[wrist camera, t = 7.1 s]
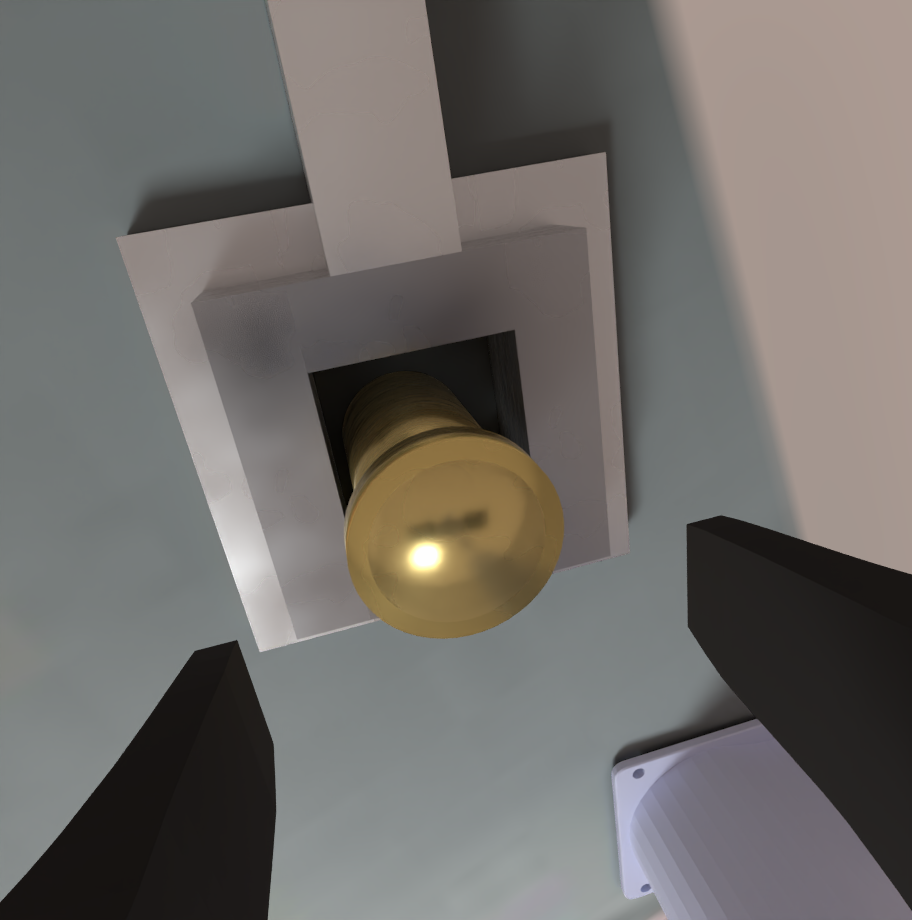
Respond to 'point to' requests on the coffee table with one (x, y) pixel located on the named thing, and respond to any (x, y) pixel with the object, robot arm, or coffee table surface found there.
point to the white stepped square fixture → (380, 311)
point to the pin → (442, 512)
